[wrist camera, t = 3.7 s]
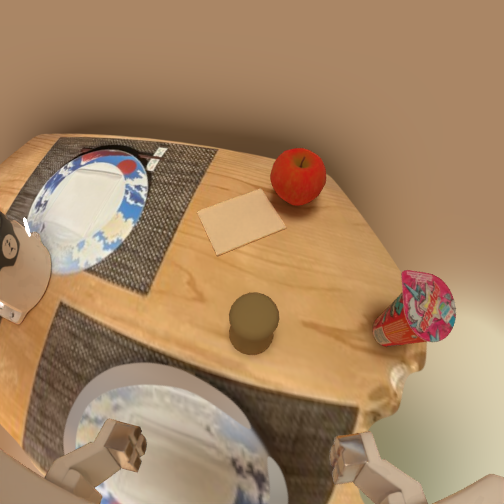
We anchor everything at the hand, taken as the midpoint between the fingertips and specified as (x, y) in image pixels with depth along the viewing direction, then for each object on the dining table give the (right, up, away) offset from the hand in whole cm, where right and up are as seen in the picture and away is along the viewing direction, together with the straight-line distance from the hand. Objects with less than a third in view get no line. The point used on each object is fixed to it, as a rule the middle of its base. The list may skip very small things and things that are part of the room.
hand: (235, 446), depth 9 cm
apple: (+8, +17, +38) cm, 43 cm away
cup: (+21, -4, +28) cm, 35 cm away
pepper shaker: (+1, -3, +28) cm, 28 cm away
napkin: (-1, +13, +36) cm, 38 cm away
